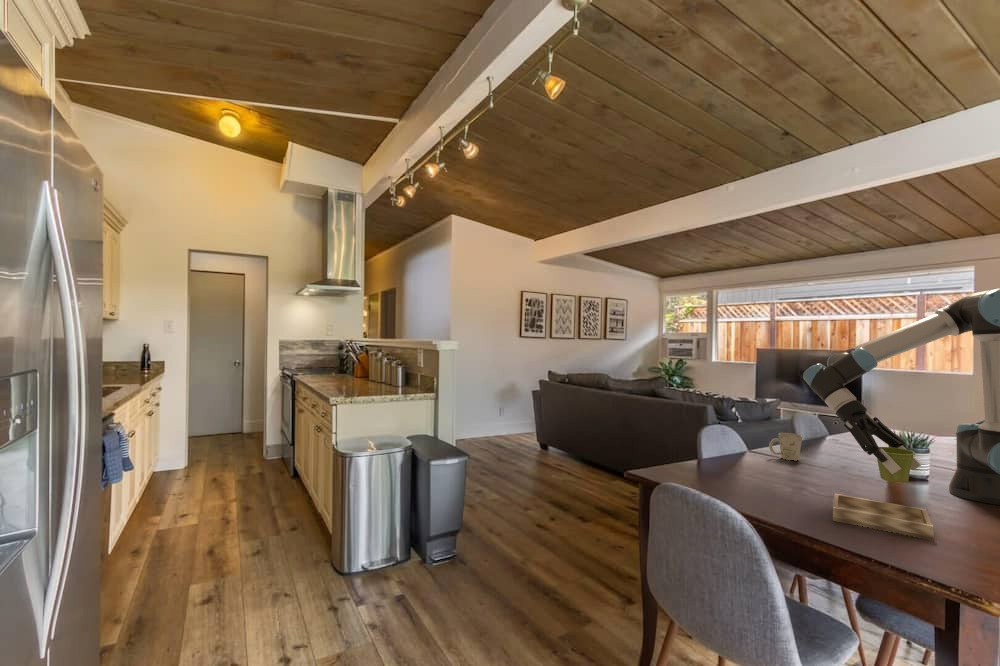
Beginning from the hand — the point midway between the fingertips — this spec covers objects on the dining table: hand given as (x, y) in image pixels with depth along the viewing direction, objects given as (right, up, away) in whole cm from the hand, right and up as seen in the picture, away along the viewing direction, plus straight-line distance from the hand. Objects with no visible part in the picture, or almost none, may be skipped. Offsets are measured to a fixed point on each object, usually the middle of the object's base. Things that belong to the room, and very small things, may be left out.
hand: (907, 469), depth 132 cm
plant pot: (-1, -4, +3) cm, 5 cm away
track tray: (-13, -12, -7) cm, 19 cm away
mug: (+2, -14, +60) cm, 62 cm away
